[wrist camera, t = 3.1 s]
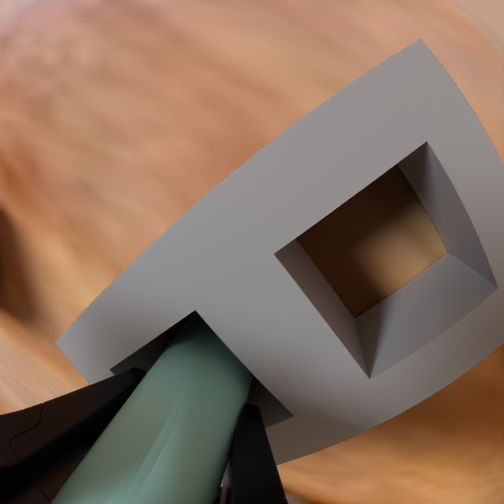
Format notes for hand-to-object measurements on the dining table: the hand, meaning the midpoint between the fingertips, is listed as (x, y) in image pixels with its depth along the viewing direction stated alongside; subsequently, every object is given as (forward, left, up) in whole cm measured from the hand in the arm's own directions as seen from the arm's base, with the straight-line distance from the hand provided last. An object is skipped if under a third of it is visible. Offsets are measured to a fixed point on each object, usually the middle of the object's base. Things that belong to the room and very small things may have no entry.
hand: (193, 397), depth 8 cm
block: (0, -3, -4) cm, 5 cm away
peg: (0, 0, -4) cm, 4 cm away
